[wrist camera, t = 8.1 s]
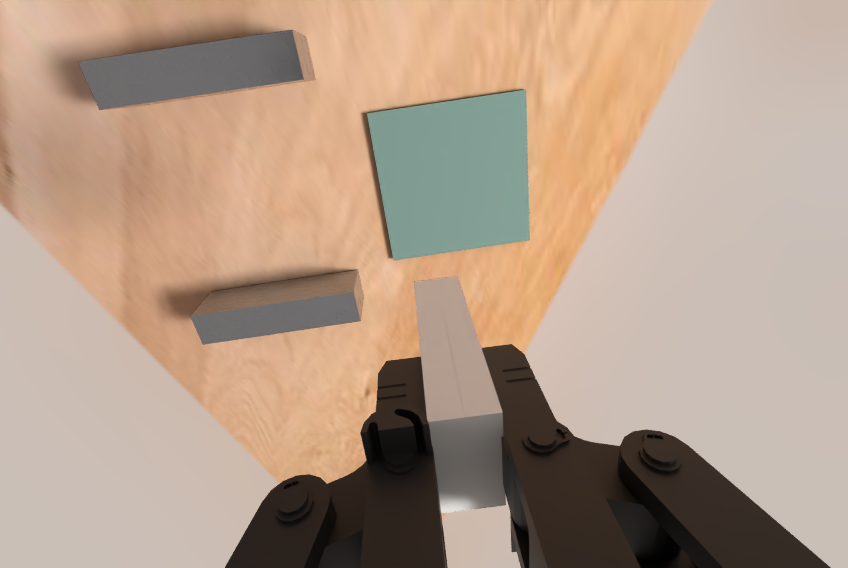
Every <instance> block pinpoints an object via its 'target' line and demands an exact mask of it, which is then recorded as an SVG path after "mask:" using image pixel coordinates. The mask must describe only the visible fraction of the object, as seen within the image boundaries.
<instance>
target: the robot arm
mask: <svg viewBox="0 0 848 568" xmlns="http://www.w3.org/2000/svg"><path fill="white" fill-rule="evenodd" d="M414 289H415V299H416V310H417V320H418V330H419V341H420V351H421V357H415V358H407V359H399V360H391V361H386V362H385V364H384V366H383V367H382V369H381V370H380V372H379V373H378V390H377V405H376V412H375V413H373V414H371V416H370V417H369V418H368V419H367V420H366V421H365V422H364V424H363V427H362V430H361V437H362V442H363V446H364V450H365V455H366V459H367V461H366V462H365V463H364V464H363V465H362V466H361V467H360V468H358V469H357V470H356V471H354V472H353V473H351V474H349V475H347V476H345V477H343V478H340V479H338V480H335V481H333V482H331V483H328V484H326V483H325V482H324V481H323V480H322V479H321V478H320V477H316V476H313V475H299V476H295V477H292V478H290V479H287V480H285V481H283V482H281V483H280V484H279V485H277V486H276V487H275V488H274V489H272V490H271V491H270V493H269V494H268V495H267V497H266V498H265V499H264V500H263V502H262V503H261V505H260V507H259V508H258V510H257V512H256V514H255V515H254V517H253V519H252V521H251V522H250V524H249V526H248V528H247V530H246V531H245V533H244V535H243V537H242V538H241V540H240V542H239V544H238V545H237V547H236V549H235V551H234V552H233V554H232V556H231V558H230V559H229V561H228V563H227V565H226V567H225V568H447V559H446V550H445V542H444V533H443V526H442V517H441V513H448V512H456V511H464V510H472V509H478V508H487V507H495V506H502V505H506V501H505V494H506V497H507V501H508V505H509V508H510V513H511V545H512V546H511V547H512V552H517V554H518V558H519V562H520V565H521V568H830V567H829V566H828V565H827V564H826V563H824V562H823V561H822V560H821V559H820V558H818V556H816V555H815V554H814V553H813V552H812V551H811V550H809V549H808V548H807V547H806V546H805V545H803V544H802V543H801V542H800V541H799V540H798V539H796V538H795V537H794V536H793V535H792V534H791V533H790V532H788V531H787V530H786V529H784V527H782V526H781V525H780V524H779V523H778V522H777V521H775V520H774V519H773V518H772V517H771V516H770V515H768V514H767V513H766V512H765V511H764V510H763V509H761V508H760V507H759V506H758V505H757V504H755V503H754V502H753V501H752V500H751V499H750V498H749V497H747V496H746V495H745V494H744V493H743V492H742V491H740V490H739V489H738V488H737V487H736V486H735V485H733V484H732V483H731V482H730V481H729V480H728V479H726V478H725V477H724V476H723V475H722V474H721V473H719V472H718V471H717V470H716V469H715V468H714V467H712V466H711V465H710V464H709V463H708V462H706V461H705V460H704V459H703V458H702V457H701V456H699V455H698V454H697V453H696V452H695V451H694V450H693V449H691V448H690V447H689V446H688V445H686V444H685V443H683V442H682V441H680V440H679V439H677V438H676V437H674V436H671V435H668V434H666V433H663V432H660V431H652V430H641V431H634V432H632V433H630V434H629V435H627V436H625V437H624V439H623V441H622V443H621V445H620V446H614V445H608V444H599V443H594V442H589V441H585V440H582V439H580V438H577V437H575V436H573V434H572V433H571V432H570V431H569V429H568V428H567V427H565V426H564V425H562V424H560V423H559V422H557V421H556V419H555V417H554V415H553V413H552V411H551V409H550V407H549V405H548V403H547V401H546V399H545V397H544V395H543V392H542V391H541V388H540V386H539V384H538V382H537V380H536V379H535V376H534V374H533V371H532V370H531V369H530V365H529V363H528V361H527V359H526V357H525V355H524V354H523V353H522V352H521V351H520V350H518V349H517V348H516V347H514V346H513V345H512V344H510V345H501V346H493V347H485V348H481V345H480V342H479V339H478V336H477V333H476V330H475V327H474V324H473V321H472V318H471V315H470V312H469V309H468V306H467V303H466V300H465V297H464V294H463V290H462V287H461V284H460V281H459V278H458V276H454V277H445V278H437V279H429V280H421V281H414Z"/></svg>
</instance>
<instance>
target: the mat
mask: <svg viewBox="0 0 848 568" xmlns="http://www.w3.org/2000/svg"><path fill="white" fill-rule="evenodd" d="M367 117H368V122H369V128H370V133H371V139H372V145H373V150H374V156H375V161H376V167H377V172H378V178H379V183H380V189H381V195H382V200H383V206H384V211H385V217H386V222H387V228H388V233H389V239H390V244H391V250H392V256H393V260H400V259H407V258H413V257H420V256H427V255H433V254H440V253H447V252H453V251H460V250H467V249H474V248H480V247H487V246H494V245H500V244H507V243H514V242H520V241H527V240H530V236H529V194H528V152H527V110H526V90H519V91H512V92H505V93H499V94H492V95H485V96H479V97H472V98H465V99H458V100H452V101H445V102H438V103H432V104H425V105H418V106H412V107H405V108H398V109H391V110H385V111H378V112H371V113H367Z"/></svg>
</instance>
